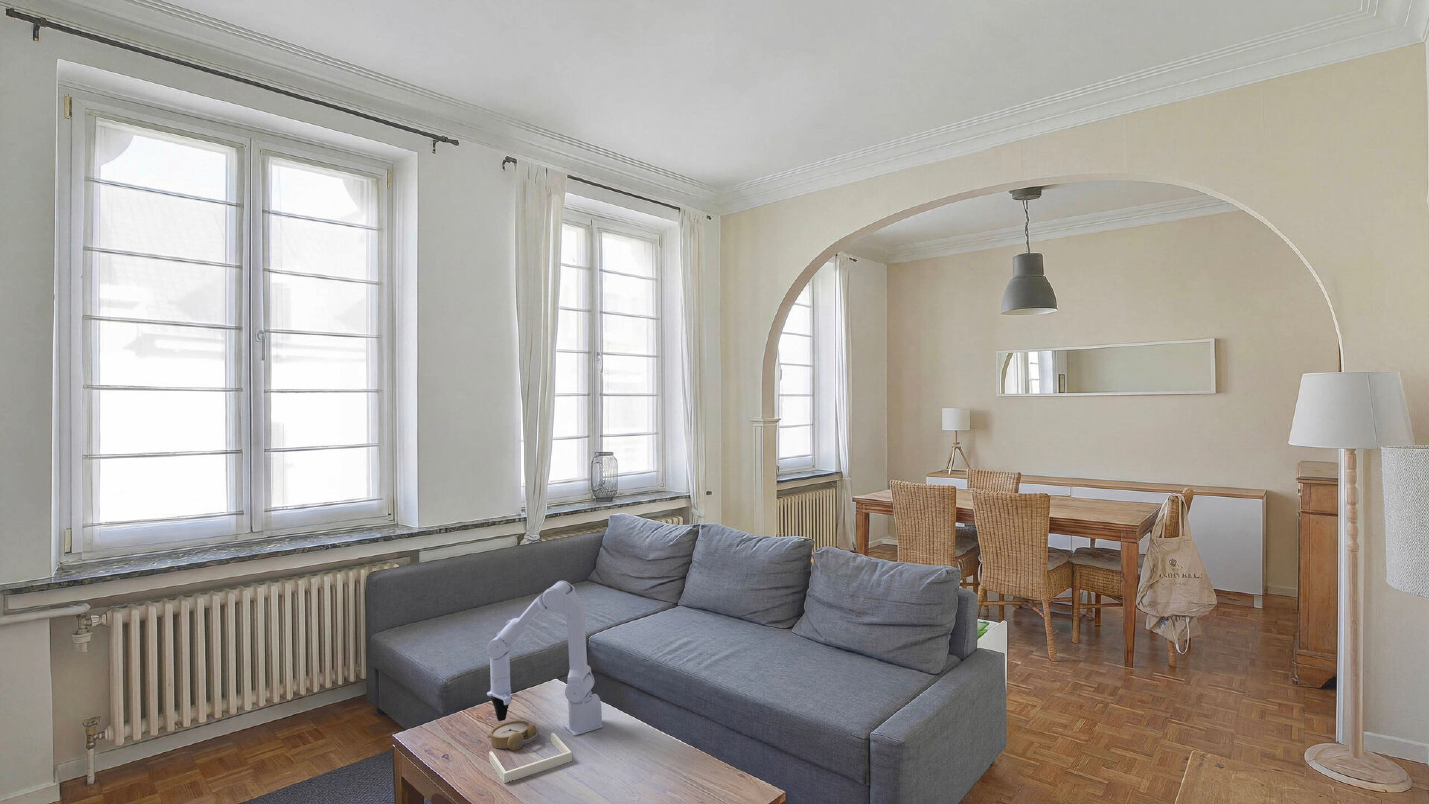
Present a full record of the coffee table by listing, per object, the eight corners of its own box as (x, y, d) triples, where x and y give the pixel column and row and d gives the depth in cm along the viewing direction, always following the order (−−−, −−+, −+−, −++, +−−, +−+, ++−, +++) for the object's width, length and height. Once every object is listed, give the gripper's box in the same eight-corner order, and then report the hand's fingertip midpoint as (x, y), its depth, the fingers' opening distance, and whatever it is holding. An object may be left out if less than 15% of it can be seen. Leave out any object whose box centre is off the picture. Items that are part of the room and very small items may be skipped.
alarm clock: (510, 718, 212) (545, 720, 204) (513, 735, 211) (548, 737, 204) (481, 734, 202) (516, 736, 194) (483, 751, 202) (519, 754, 194)
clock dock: (554, 741, 202) (553, 732, 202) (572, 761, 191) (571, 752, 191) (489, 761, 192) (489, 752, 192) (504, 783, 180) (503, 773, 180)
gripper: (480, 671, 218) (481, 714, 218) (493, 686, 205) (495, 732, 205) (503, 666, 221) (504, 708, 221) (517, 681, 209) (518, 725, 209)
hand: (501, 719), depth 214 cm, fingers closed
